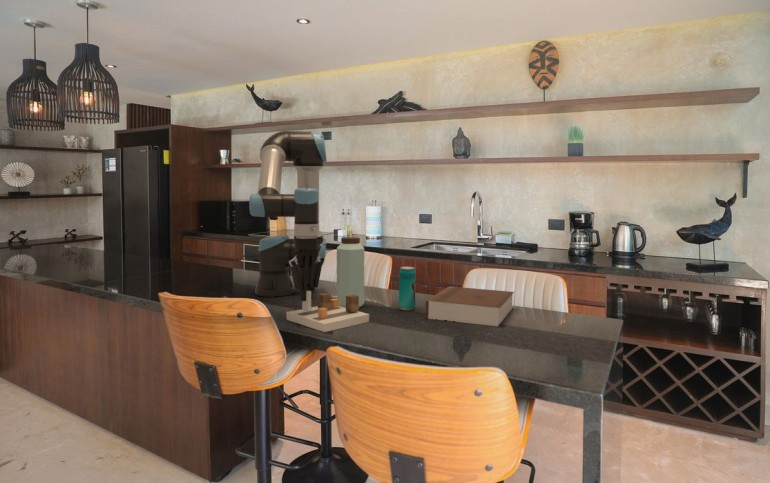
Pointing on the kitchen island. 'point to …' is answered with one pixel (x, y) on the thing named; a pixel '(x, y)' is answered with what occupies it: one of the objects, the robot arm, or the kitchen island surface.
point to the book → (469, 305)
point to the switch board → (328, 317)
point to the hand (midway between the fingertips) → (306, 310)
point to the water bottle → (350, 270)
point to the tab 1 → (324, 301)
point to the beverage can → (407, 288)
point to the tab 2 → (352, 303)
